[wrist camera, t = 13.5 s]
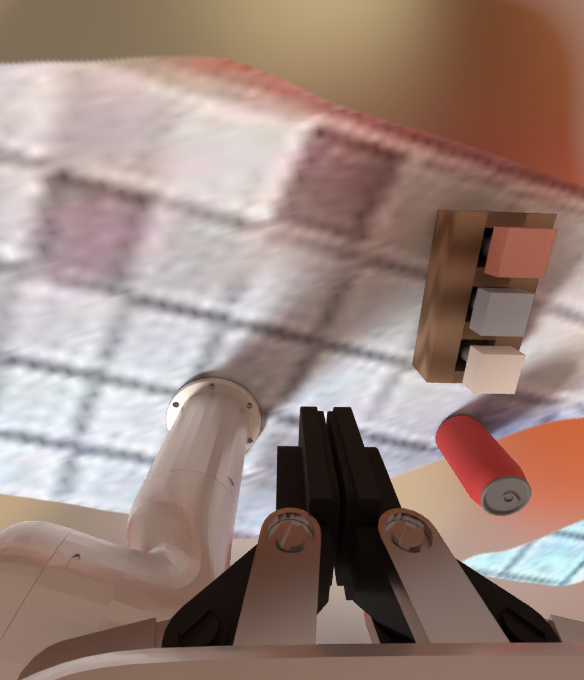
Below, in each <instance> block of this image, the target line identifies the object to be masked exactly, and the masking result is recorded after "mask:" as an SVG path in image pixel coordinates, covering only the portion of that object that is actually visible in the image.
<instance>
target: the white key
mask: <svg viewBox="0 0 584 680" xmlns="http://www.w3.org/2000/svg"><path fill="white" fill-rule="evenodd" d="M458 355H459V356H460V357H461V358H463V359H464V360H465V361H466V362H467V364H466V368H465V373H464V377H463V382H462V383H463V384H464V385H465V386H466V387H467V388H468V389H469V390H470V391H471V392H472V393H487V394H515V391H516V387H517V384H518V380H519V377H520V373H521V370H522V366H523V363H524V359H525V356H526V355H525V354H523V353H521V352H520V351H518V350H516V349H515V348H513V347H512V346H478V345H476V344H475V343H473V342H472V341H470V340H468V339H463V340H461V342H460V347H459V352H458Z"/></svg>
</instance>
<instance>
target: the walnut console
mask: <svg viewBox="0 0 584 680" xmlns="http://www.w3.org/2000/svg"><path fill="white" fill-rule="evenodd" d="M556 215H557V214H540V213H510V212H480V211H447V210H438V212H437V218H436V224H435V230H434V236H433V242H432V248H431V254H430V260H429V266H428V273H427V279H426V285H425V291H424V297H423V303H422V309H421V315H420V321H419V327H418V333H417V339H416V345H415V351H414V357H413V364H412V365H413V366H414V367H415V369H416V370H417V371H418V372H419V373H420V375H421V376H422V377H423V378H424V380H425V381H426V382H431V383H462V382H463V377H464V373H465V368H466V364H467V362H466V361H465V360H464V359H463V358H461V357H460V356H459V355H458V352H459V347H460V342H461V339H471V340H470V341H472V342H473V343H475V344H476V345H478V346H512V347H513V348H515V349H516V350H518V351H519V349H520V345H521V342H522V338H523V337H516V336H480V335H479V334H477V333H476V332H474V331H473V330H471V329H470V328H469V326H470V321H471V317H472V312H473V311H471V310H467V309H468V305H469V300H470V295H471V291H472V287H482V288H517V289H522V290H525V291H528V292H531V293H534V294H535V291H536V288H537V284H538V280H539V278H507V277H495V276H492V275H489V274H486V273H484V270H485V266H486V262H481V261H478V258H479V253H480V248H481V243H482V239H483V234H484V229H485V228H494V226H495V227H526V228H546V229H553V226H554V223H555V219H556Z"/></svg>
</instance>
